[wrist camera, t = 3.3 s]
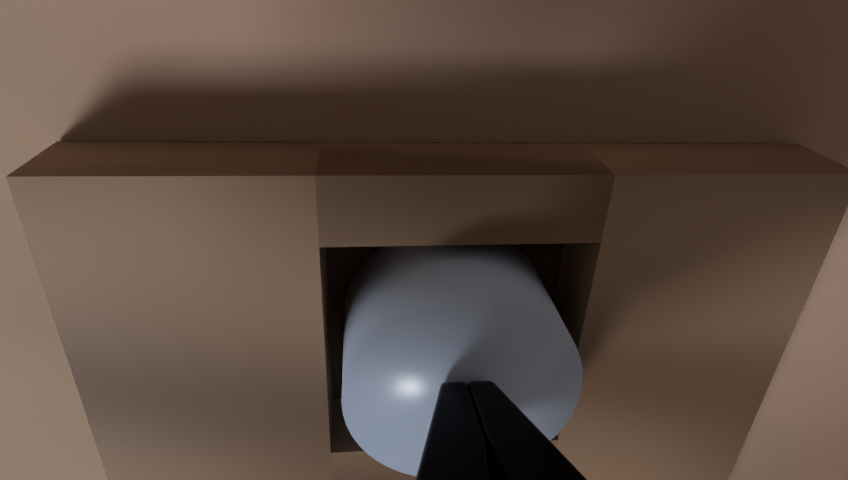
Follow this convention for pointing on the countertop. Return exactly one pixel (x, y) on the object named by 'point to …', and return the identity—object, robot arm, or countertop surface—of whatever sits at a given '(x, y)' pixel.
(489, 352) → the slate button
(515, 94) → the countertop surface
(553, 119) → the countertop surface
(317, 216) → the button panel
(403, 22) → the countertop surface
